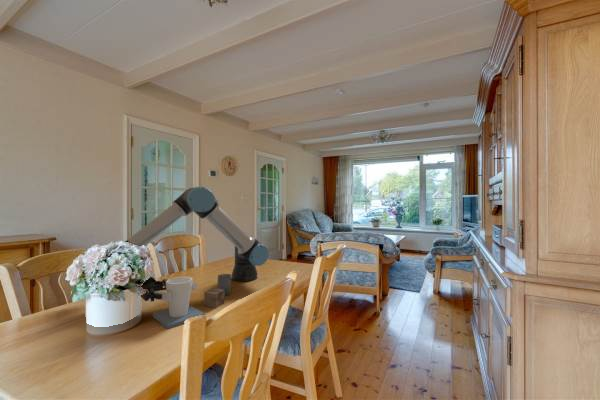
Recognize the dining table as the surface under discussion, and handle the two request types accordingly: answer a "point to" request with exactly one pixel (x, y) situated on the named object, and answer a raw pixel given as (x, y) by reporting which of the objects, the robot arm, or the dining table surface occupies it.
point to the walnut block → (214, 297)
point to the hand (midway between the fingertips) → (183, 291)
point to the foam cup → (179, 295)
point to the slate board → (175, 321)
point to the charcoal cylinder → (224, 283)
